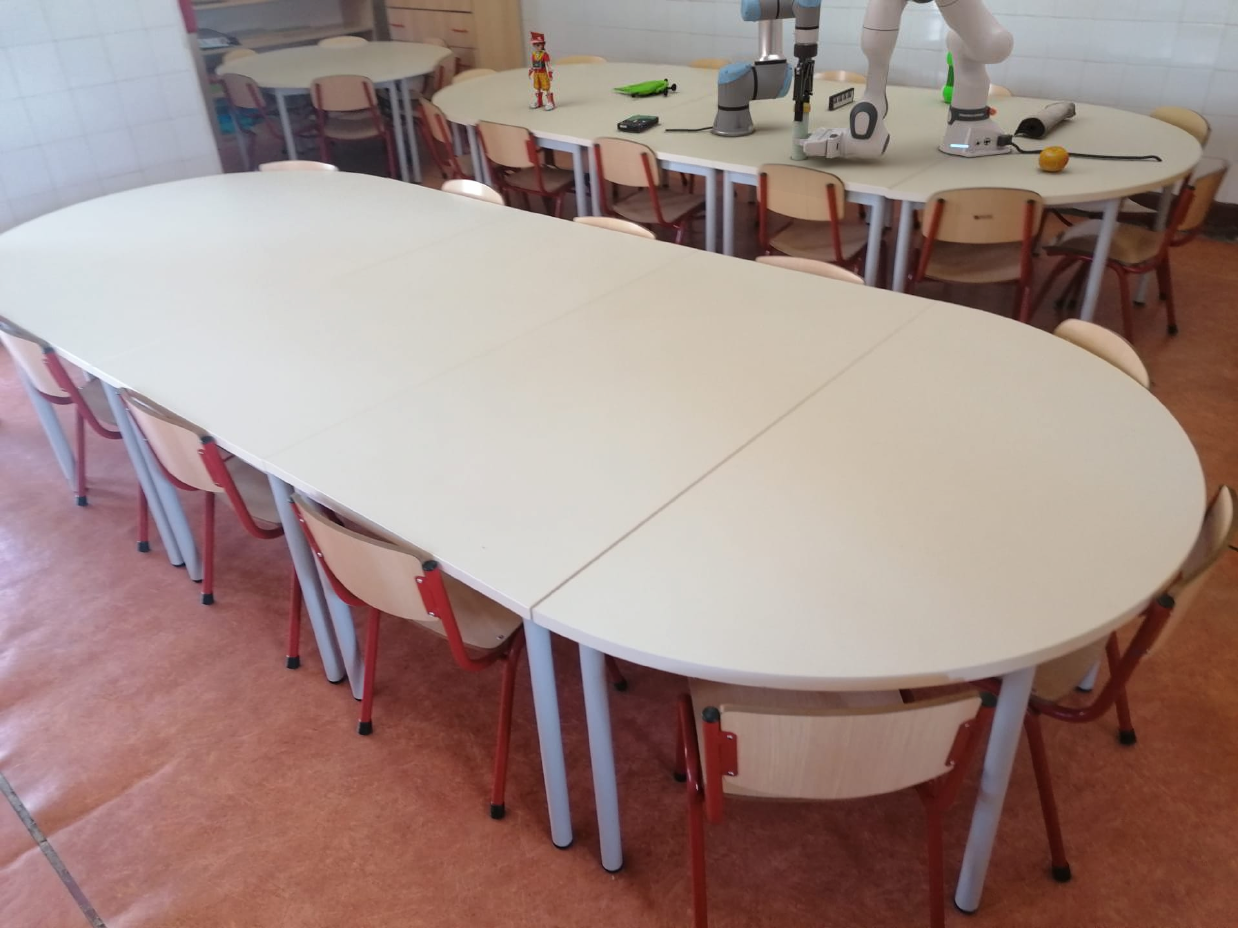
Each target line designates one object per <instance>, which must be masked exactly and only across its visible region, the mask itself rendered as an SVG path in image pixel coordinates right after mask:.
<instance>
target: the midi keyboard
mask: <svg viewBox="0 0 1238 928" xmlns="http://www.w3.org/2000/svg"><path fill="white" fill-rule="evenodd" d="M854 95H855V87H849V88H847V89H845V90H842V91H840V92H837V93H835V94H832V95H830V96H829V97H828V107H827V109H828V111H832V110H834V109H836V108H839V107H841V106H843V105H845V104H849V103H851V102H853V101H854V97H855V96H854Z"/></svg>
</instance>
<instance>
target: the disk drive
mask: <svg viewBox="0 0 1238 928" xmlns="http://www.w3.org/2000/svg"><path fill="white" fill-rule="evenodd" d="M659 120H660V119H659V116H655V115H644V114H643V115H641V114H636V115H633V116H630V117H628V118H626V119H624V120H621V121H619V122H618V123H616V126H617V127H616V128H617V130H618V131H624V132H631V133H642V132H644V131H646V130H647V129H650V128H653V127H654V126H656V125H657V124H659V123H660V121H659Z"/></svg>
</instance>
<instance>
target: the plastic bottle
mask: <svg viewBox="0 0 1238 928" xmlns="http://www.w3.org/2000/svg"><path fill="white" fill-rule="evenodd" d="M946 63H947V64H948V69H947V70H948V71H947V76H946V77H947V78H946V84H945V85H944V87H943V90H942V97H943V99H944V100H945V101H946V102H947V103H948V104H951V102H952V94H953V87H954V70H953V62H952V57H951V54H950V51H949V50H948V52H947V54H946Z"/></svg>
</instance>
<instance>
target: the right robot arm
mask: <svg viewBox="0 0 1238 928" xmlns="http://www.w3.org/2000/svg"><path fill="white" fill-rule="evenodd" d="M933 1H934V3H935V5H936V7H937V9H938V11H939V13H940V14H941V17H942V18H943V20H944V22H945V23H946V25H947V26H948V27H949V29H948V31H947V33H946V35H945V36H946V38H945V45H946V48H947V50H948V52H949V51H950V54H951V57H952V62H953V70H954V87H953V94H952V102H951V103H950V104H949V106H948V111H947V118H946V123H947V124H946V128H945V132H944V135H943V138H942V140H941V143H940V144H939V145H940V146H939V150H940V151H941V152H943V153H946V154H950V155H957V156H963V157H966V158H974V157H983V156H992V155H993V156H994V155H1000V154H1001V155H1002V154H1008V153H1010V152H1011V147H1014V148H1015V150H1016V151H1017V152H1019V153H1021V154H1040V153H1041V152H1042V151H1043V150H1044V149H1034V150H1024V149H1021V148H1020V146H1019V145H1018V144H1016V143H1015V142H1013V137H1014V134H1010V133H1007V134H1005V131H1004V129H1003V128H1002V126H1000V125H999V124H998V123H997V122H996V121H995V120H994V119H992V117H991V116H995V115H996V114H997V109H995V108H994V107H991V106H989V105H987V104H988V98H989V93H990V87H991V78H990V76H989V75H988V73H987V70H986V65H996V64H1001V63H1003V62H1004V61H1006V60H1007V59H1008V57H1009V56H1010V55H1011V54H1012V51H1013V49H1014V43H1015V42H1014V36H1013V34H1012V33H1011V32H1010V31H1009V30H1008V29H1006V28H1005V27H1004V26H1003V25H1002V24H1001V23H1000V22H999V21H998V19H996V17H995V16H994V15H993V14H992V12H991V10H989V9H988V8H987V7H986V5H985V4H984V3H983V1H982V0H868V2H867V5H866V9H865V12H864V17H863V22H862V28H861V35H860V48H861V52H862V53H863V54H864V56H866V58H867V61H868V63H867V64H868V69H867V76H866V77H867V78H866V84H865V89H864V93H863V95H862V96H861V98H860V99H859V101H858V102H857V103H855V104H854V105H853V107H852V108H851V110H850V112H849V127H841V126H840V127H839V126H835V127H827V126H820V127H818V128H817V129H816V130H815V131H812V132H811V131H810V132H808V139H801V138H796V139H795V141H794V144H795V145H801V146H803V147H804V148H803V152H804V153H806V155H812V156H819V157H825V156H826V158H827V159H833V158H835V157H850V156H854V157H857V158H863V159H864V158H867V159H869V158H870V159H871V158H873V159H874V158H880V157H881V156H883V155H884V154H885V152H886V151H887V148H888V147H889V143H890V138H891V134H890V132H889V131H888V129H887V127H886V125H885V123H884V120H885V119H886V116H887V115H888V112H889V102H888V98H887V91H886V90H887V89H886V88H887V82H888V75H889V68H890V62H891V59H892V56H893V54H894V51H895V48H896V45H897V42H898V37H899V33H900V28H901V21H902V15H903V12H904V9H905V8H906V6H907V5H908V4H909V2H911V3H915V4H918V5H919V4H920V5H922V4H923V5H924V4H928V3H931V2H933ZM1067 152H1068V154H1069V157H1070V156H1072V157H1078V158H1079V157H1081V158H1089V159H1090V158H1091V159H1106V160H1107V159H1108V160H1109V159H1110V160H1147V159H1148V160H1149V159H1154V160H1156V161H1157V162H1159V163H1161V162H1163V160H1162V158H1161V157H1160V156H1158V155H1153V154H1150V155H1142V156H1141V155H1139V156H1138V155H1103V154H1089V153H1078V152H1070V151H1067Z"/></svg>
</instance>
